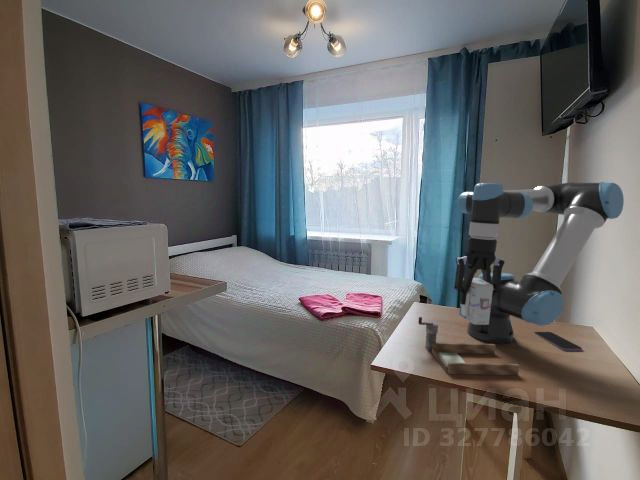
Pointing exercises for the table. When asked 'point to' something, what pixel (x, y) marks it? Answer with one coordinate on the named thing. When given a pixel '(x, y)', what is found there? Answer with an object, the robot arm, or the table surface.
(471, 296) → the ink box
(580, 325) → the table surface
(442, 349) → the bay
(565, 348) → the smartphone
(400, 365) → the table surface
